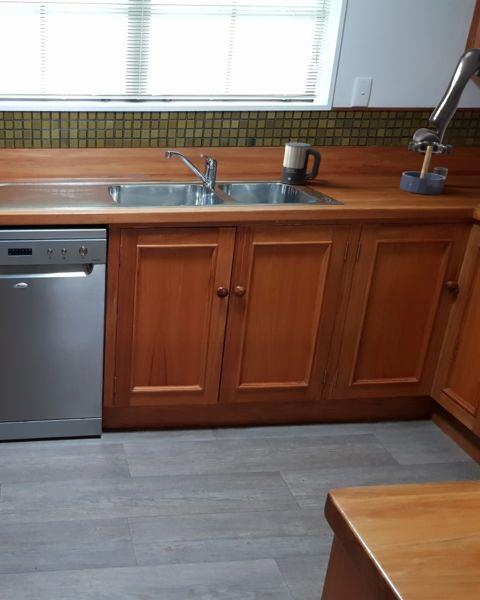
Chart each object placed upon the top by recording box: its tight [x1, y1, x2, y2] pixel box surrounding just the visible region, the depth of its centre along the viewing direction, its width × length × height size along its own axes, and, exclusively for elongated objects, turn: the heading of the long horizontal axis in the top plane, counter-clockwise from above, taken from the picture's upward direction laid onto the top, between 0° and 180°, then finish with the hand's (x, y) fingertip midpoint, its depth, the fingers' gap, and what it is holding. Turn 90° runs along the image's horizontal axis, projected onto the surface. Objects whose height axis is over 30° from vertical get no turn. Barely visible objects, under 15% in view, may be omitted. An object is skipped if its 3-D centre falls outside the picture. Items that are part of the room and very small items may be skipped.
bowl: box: [399, 171, 446, 196], centre depth 227 cm, size 14×14×6 cm
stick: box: [420, 146, 433, 179], centre depth 225 cm, size 2×2×16 cm
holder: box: [432, 167, 449, 184], centre depth 235 cm, size 5×5×7 cm
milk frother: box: [279, 142, 322, 185], centre depth 237 cm, size 14×16×15 cm
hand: (430, 150), depth 221 cm, fingers open, 8 cm apart
